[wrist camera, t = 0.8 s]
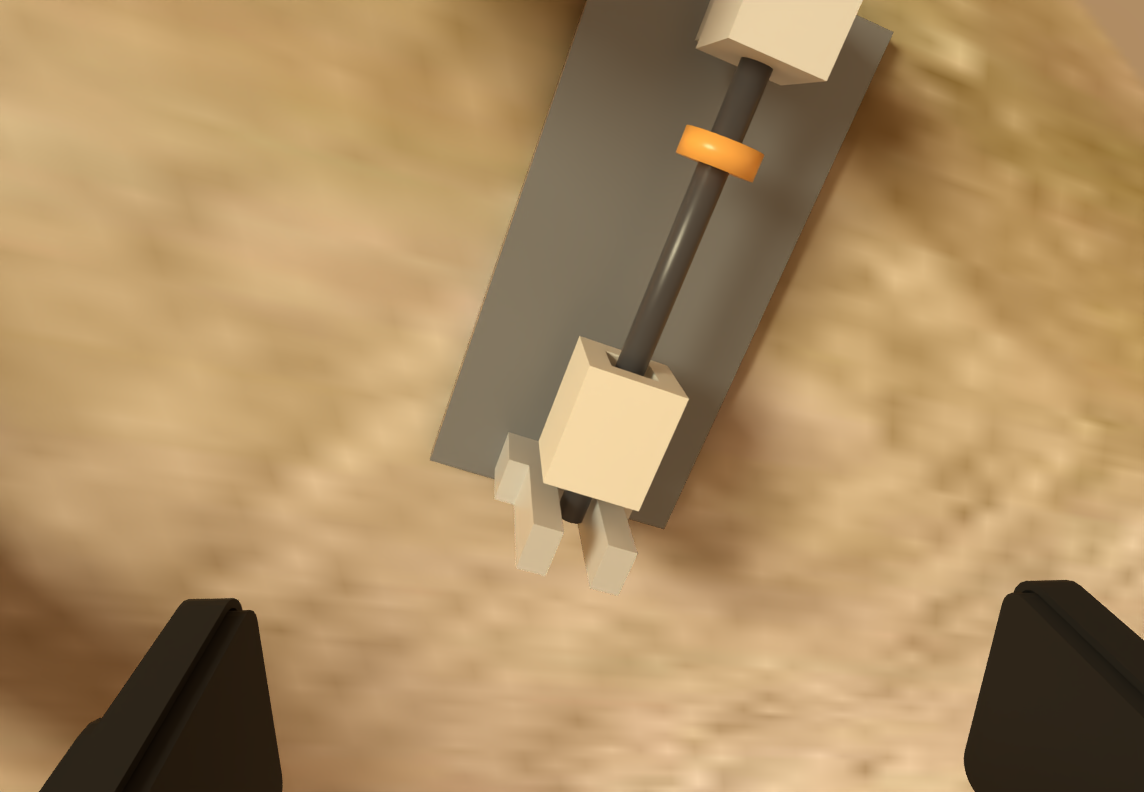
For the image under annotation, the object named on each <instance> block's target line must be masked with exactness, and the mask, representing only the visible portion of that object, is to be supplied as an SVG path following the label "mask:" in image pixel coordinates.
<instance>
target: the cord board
mask: <svg viewBox="0 0 1144 792" xmlns="http://www.w3.org/2000/svg"><path fill="white" fill-rule="evenodd" d="M862 1H863V0H586V2H585V5H584V8H583V11H582V14H581V17H580V20H579V23H578V26H577V28H576V31H575V34H574V37H573V40H572V43H571V46H570V49H569V52H568V55H567V58H566V61H565V64H564V66H563V69H562V72H561V75H560V78H559V81H558V84H557V87H556V90H555V93H554V96H553V99H552V102H551V104H550V107H549V110H548V113H547V116H546V119H545V122H544V125H543V128H542V131H541V134H540V137H539V140H538V142H537V145H536V148H535V151H534V154H533V157H532V160H531V163H530V166H529V169H528V172H527V175H526V178H525V180H524V183H523V186H522V189H521V192H520V195H519V198H518V201H517V204H516V207H515V210H514V213H513V215H512V218H511V221H510V224H509V227H508V230H507V233H506V236H505V239H504V242H503V245H502V248H501V251H500V253H499V256H498V259H497V262H496V265H495V268H494V271H493V274H492V277H491V280H490V283H489V286H488V289H487V291H486V294H485V297H484V300H483V303H482V306H481V309H480V312H479V315H478V318H477V321H476V324H475V327H474V329H473V332H472V335H471V338H470V341H469V344H468V347H467V350H466V353H465V356H464V359H463V362H462V365H461V367H460V370H459V373H458V376H457V379H456V382H455V385H454V388H453V391H452V394H451V397H450V400H449V403H448V405H447V408H446V411H445V414H444V417H443V420H442V423H441V426H440V429H439V432H438V435H437V438H436V440H435V443H434V446H433V449H432V453H431V458H430V460H431V461H435V462H438V463H441V464H445V465H448V466H451V467H455V468H458V469H462V470H465V471H468V472H472V473H475V474H479V475H482V476H485V477H489V478H492V479H495V483H494V499H495V500H499V501H502V502H506V503H509V504H513V505H514V527H515V559H516V569H520V570H524V571H527V572H531V573H535V574H538V575H542V576H546V575H547V572H548V570H549V567H550V565H551V563H552V560H553V558H554V555H555V553H556V551H557V548H558V546H559V543H560V541H561V538H562V536H563V534H564V529H563V522H562V519H563V520H565V521H567V522H570V523H575V524H578V528H579V533H580V539H581V544H582V550H583V555H584V560H585V566H586V571H587V577H588V582H589V588H590V589H594V590H597V591H601V592H605V593H608V594H612V595H616V596H619V594H620V592H621V589H622V587H623V585H624V583H625V581H626V578H627V576H628V574H629V572H630V570H631V568H632V565H633V563H634V561H635V559H636V557H637V554H638V553H637V549H636V546H635V543H634V540H633V536H632V533H631V530H630V527H629V523H628V519H631V520H635V521H638V522H641V523H645V524H648V525H652V526H655V527H658V528H662V529H664V528H665V526H666V524H667V522H668V520H669V518H670V515H671V513H672V511H673V509H674V507H675V505H676V502H677V500H678V498H679V496H680V494H681V492H682V489H683V487H684V485H685V483H686V481H687V479H688V476H689V474H690V472H691V470H692V468H693V466H694V463H695V461H696V459H697V457H698V455H699V453H700V450H701V448H702V446H703V444H704V442H705V440H706V437H707V435H708V433H709V431H710V429H711V427H712V424H713V422H714V420H715V418H716V416H717V414H718V411H719V409H720V407H721V405H722V403H723V401H724V398H725V396H726V394H727V392H728V390H729V388H730V385H731V383H732V381H733V379H734V377H735V375H736V372H737V370H738V368H739V366H740V364H741V362H742V359H743V357H744V355H745V353H746V351H747V349H748V346H749V344H750V342H751V340H752V338H753V336H754V333H755V331H756V329H757V327H758V325H759V323H760V320H761V318H762V316H763V314H764V312H765V310H766V307H767V305H768V303H769V301H770V299H771V297H772V294H773V292H774V290H775V288H776V286H777V284H778V281H779V279H780V277H781V275H782V273H783V271H784V268H785V266H786V264H787V262H788V260H789V258H790V255H791V253H792V251H793V249H794V247H795V245H796V242H797V240H798V238H799V236H800V234H801V232H802V229H803V227H804V225H805V223H806V221H807V219H808V216H809V214H810V212H811V210H812V208H813V206H814V203H815V201H816V199H817V197H818V195H819V193H820V190H821V188H822V186H823V184H824V182H825V180H826V177H827V175H828V173H829V171H830V169H831V167H832V164H833V162H834V160H835V158H836V156H837V154H838V151H839V149H840V147H841V145H842V143H843V141H844V138H845V136H846V134H847V132H848V130H849V128H850V125H851V123H852V121H853V119H854V117H855V115H856V112H857V110H858V108H859V106H860V104H861V102H862V99H863V97H864V95H865V93H866V91H867V89H868V86H869V84H870V82H871V80H872V78H873V76H874V73H875V71H876V69H877V67H878V65H879V63H880V60H881V58H882V56H883V54H884V52H885V50H886V47H887V45H888V43H889V41H890V39H891V37H892V34H893V32H892V31H890V30H888V29H886V28H884V27H881V26H879V25H877V24H875V23H873V22H871V21H868V20H866V19H864V18H862V17H860V16H858V15H856V14H857V12H858V10H859V8H860V5H861V3H862ZM579 336H582V337H585V338H587V339H590V340H593V341H596V342H599V343H602V344H605V345H608V346H611V347H614V348H617V349H620V350H621V353H620V355H619V358H618V360H617V362H616V365H615V367H617V368H620V369H623V370H626V371H629V372H632V373H635V374H638V375H641V376H643V377H644V374H645V372H646V370H647V367H648V365H649V363H650V360H652V361H655V362H658V363H661V364H664V365H667V366H668V367H669V369H670V370H671V372H672V374H673V375H674V377H675V378H676V380H677V381H678V383H679V384H680V386H681V387H682V389H683V390H684V392H685V393H686V395H687V397H688V398H689V400H688V402H687V404H686V407H685V409H684V411H683V413H682V416H681V418H680V420H679V422H678V425H677V427H676V429H675V431H674V434H673V436H672V438H671V440H670V443H669V445H668V447H667V449H666V451H665V454H664V456H663V458H662V460H661V463H660V465H659V467H658V469H657V472H656V474H655V476H654V478H653V481H652V483H651V485H650V487H649V490H648V492H647V494H646V496H645V499H644V501H643V503H642V505H641V508H640V510H639V511H636V510H632V509H629V508H625V507H622V506H619V505H615V504H612V503H609V502H605V501H602V500H599V499H595V498H592V497H589V496H585V495H582V494H578V493H575V492H572V491H568V490H565V489H562V488H558V487H555V486H552V485H548V484H545V483H543V476H542V467H541V458H540V449H539V439H540V436H541V434H542V431H543V429H544V426H545V423H546V421H547V418H548V416H549V413H550V411H551V408H552V405H553V403H554V400H555V398H556V395H557V393H558V390H559V387H560V385H561V382H562V380H563V377H564V374H565V372H566V369H567V367H568V364H569V362H570V359H571V356H572V354H573V351H574V349H575V346H576V344H577V341H578V338H579Z"/></svg>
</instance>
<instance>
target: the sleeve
mask: <svg viewBox="0 0 1144 792" xmlns="http://www.w3.org/2000/svg"><path fill="white" fill-rule="evenodd" d="M620 353H621V350H620V349H617V348H614V347H611V346H608V345H605V344H602V343H599V342H596V341H593V340H590V339H587V338H585V337H582V336H579V338H578V341H577V344H576V346H575V349H574V351H573V354H572V356H571V359H570V362H569V364H568V367H567V369H566V372H565V374H564V377H563V380H562V382H561V385H560V387H559V390H558V393H557V395H556V398H555V400H554V403H553V405H552V408H551V411H550V413H549V416H548V418H547V421H546V423H545V426H544V429H543V431H542V434H541V436H540V439H539V449H540V458H541V467H542V476H543V483H545V484H548V485H552V486H555V487H558V488H562V489H565V490H568V491H572V492H575V493H578V494H582V495H585V496H589V497H592V498H595V499H599V500H602V501H605V502H609V503H612V504H615V505H619V506H622V507H625V508H629V509H632V510H636V511H639V510H640V508H641V505H642V503H643V501H644V499H645V496H646V494H647V492H648V490H649V487H650V485H651V483H652V481H653V478H654V476H655V474H656V472H657V469H658V467H659V465H660V463H661V460H662V458H663V456H664V454H665V451H666V449H667V447H668V445H669V443H670V440H671V438H672V436H673V434H674V431H675V429H676V427H677V425H678V422H679V420H680V418H681V416H682V413H683V411H684V409H685V407H686V404H687V402H688V400H689V398H688V397H687V395H686V393H685V392H684V390H683V389H682V387H681V386H680V384H679V383H678V381H677V380H676V378H675V377H674V375H673V374H672V372H671V370H670V369H669V367H668V366H667V365H664V364H661V363H658V362H655V361H652V360H650V363H649V365H648V367H647V370H646V372H645V374H644V377H643V376H641V375H638V374H635V373H632V372H629V371H626V370H623V369H620V368H617V367H615V365H616V362H617V360H618V358H619V355H620Z"/></svg>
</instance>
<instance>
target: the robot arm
mask: <svg viewBox="0 0 1144 792" xmlns="http://www.w3.org/2000/svg"><path fill="white" fill-rule="evenodd" d="M964 766H965V771H966V775H967V778H968V780H969V782H970V784H971V786H972V788H973V790H974V791H975V792H1144V640H1143V639H1141V638H1140V637H1139V636H1138V635H1137V634H1136V633H1134V632H1133V631H1132V630H1131V629H1130V628H1129V627H1128V626H1126V625H1125V624H1124V623H1123V622H1122V621H1121V620H1119V619H1118V618H1117V617H1116V616H1115V615H1114V614H1113V613H1111V612H1110V611H1109V610H1108V609H1107V608H1106V607H1105V606H1103V605H1102V604H1101V603H1100V602H1099V601H1098V600H1096V599H1095V598H1094V597H1093V596H1092V595H1091V594H1090V593H1088V592H1087V591H1086V590H1085V589H1084V588H1083V587H1081V586H1080V585H1078V584H1077V583H1075V582H1074V581H1069V580H1047V581H1025V582H1022V583H1020V584H1019V585H1018V586H1017V587H1016V588H1015V590H1014V593H1011V594H1008V595H1007V596H1006V597H1005V598H1004V600H1003V603H1002V606H1001V610H1000V614H999V618H998V622H997V626H996V630H995V634H994V638H993V642H992V646H991V650H990V654H989V658H988V662H987V666H986V670H985V673H984V677H983V681H982V685H981V689H980V693H979V697H978V701H977V705H976V709H975V713H974V717H973V721H972V725H971V729H970V733H969V737H968V741H967V745H966V749H965V753H964ZM282 783H283V782H282V773H281V767H280V760H279V754H278V748H277V741H276V735H275V729H274V722H273V716H272V710H271V703H270V697H269V691H268V684H267V678H266V672H265V665H264V659H263V653H262V646H261V640H260V634H259V627H258V621H257V617H256V614H255V613H254V611H252V610H242V607H241V604H240V602H239V601H238V600H237V599H235V598H225V599H188V600H185V601H183V603H182V604H181V605H180V606H179V607H178V608H177V610H176V611H175V613H174V614H173V616H172V617H171V619H170V620H169V622H168V623H167V624H166V626H165V627H164V629H163V630H162V632H161V633H160V635H159V636H158V638H157V639H156V640H155V642H154V643H153V645H152V646H151V648H150V649H149V651H148V652H147V653H146V655H145V656H144V658H143V659H142V661H141V662H140V664H139V665H138V667H137V668H136V669H135V671H134V672H133V674H132V675H131V677H130V678H129V680H128V681H127V683H126V684H125V685H124V687H123V688H122V690H121V691H120V693H119V694H118V696H117V697H116V698H115V700H114V701H113V703H112V704H111V706H110V707H109V709H108V710H107V712H106V713H105V714H104V716H103V717H102V718H99V719H97V720H95V721H93V722H91V723H90V724H89V725H88V726H87V727H86V728H85V729H84V730H83V731H82V732H81V734H80V735H79V736H78V737H77V739H76V740H75V742H74V743H73V744H72V746H71V747H70V749H69V750H68V751H67V753H66V754H65V756H64V757H63V759H62V760H61V761H60V763H59V764H58V766H57V767H56V768H55V770H54V771H53V773H52V774H51V776H50V777H49V778H48V780H47V781H46V783H45V784H44V785H43V787H42V788H41V790H40V791H39V792H282Z"/></svg>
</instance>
